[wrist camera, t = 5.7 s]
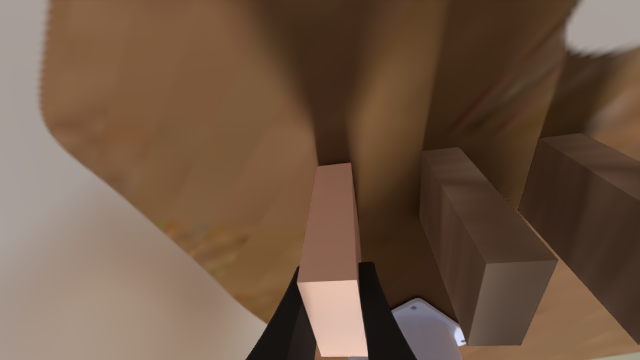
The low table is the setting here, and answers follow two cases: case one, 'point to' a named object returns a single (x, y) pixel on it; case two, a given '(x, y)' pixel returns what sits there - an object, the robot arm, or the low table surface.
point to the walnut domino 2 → (590, 218)
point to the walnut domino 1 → (481, 250)
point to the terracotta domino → (333, 264)
